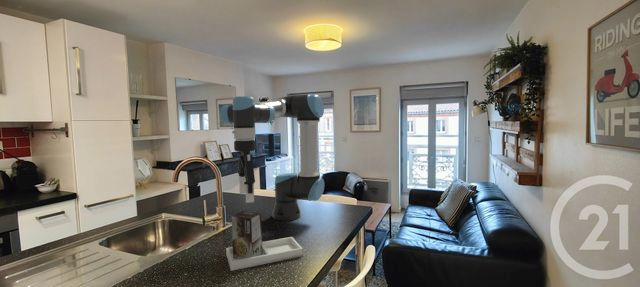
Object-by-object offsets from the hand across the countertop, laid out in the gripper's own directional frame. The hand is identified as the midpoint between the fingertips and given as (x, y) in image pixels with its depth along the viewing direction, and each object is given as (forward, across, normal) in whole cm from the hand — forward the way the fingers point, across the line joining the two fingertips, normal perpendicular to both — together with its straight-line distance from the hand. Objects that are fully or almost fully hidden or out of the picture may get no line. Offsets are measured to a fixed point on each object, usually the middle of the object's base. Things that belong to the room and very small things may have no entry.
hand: (246, 197), depth 108 cm
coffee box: (+23, 0, 0) cm, 23 cm away
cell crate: (+23, 0, +6) cm, 24 cm away
